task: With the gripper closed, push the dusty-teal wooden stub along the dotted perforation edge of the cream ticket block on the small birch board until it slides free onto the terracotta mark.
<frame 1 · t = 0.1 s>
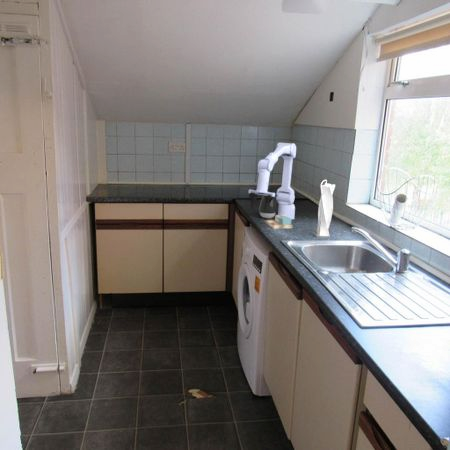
hand: (259, 208, 228), 10 cm above the worktop, fingers open, 7 cm apart
dark egg-shaped dome: (267, 217, 257), on the worktop
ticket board: (278, 225, 238), on the worktop
stub: (285, 220, 236), point 3 cm above the worktop, slide at 0.0 cm
skyscraper: (322, 235, 221), on the worktop
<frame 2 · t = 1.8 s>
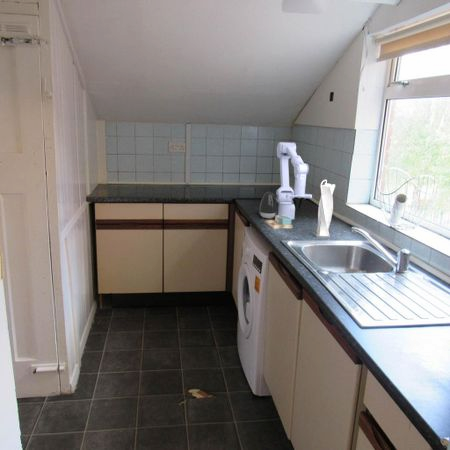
hand: (297, 211, 236), 8 cm above the worktop, fingers closed
nothing on the worktop moved.
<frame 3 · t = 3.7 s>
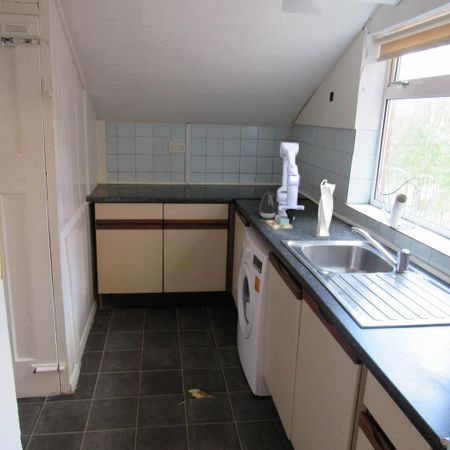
hand: (289, 222, 236), 2 cm above the worktop, fingers closed
stub: (282, 220, 236), point 3 cm above the worktop, slide at 1.4 cm, touching gripper
everything else where it was.
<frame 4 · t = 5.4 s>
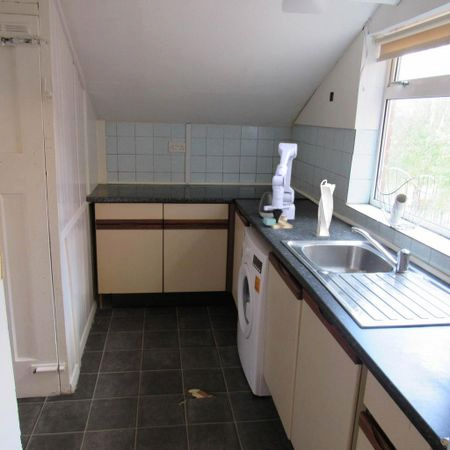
hand: (276, 223, 234), 2 cm above the worktop, fingers closed
dark egg-shaped dome: (267, 217, 257), on the worktop, touching arm
stub: (269, 221, 234), point 3 cm above the worktop, slide at 9.2 cm, touching gripper
everything else where it was.
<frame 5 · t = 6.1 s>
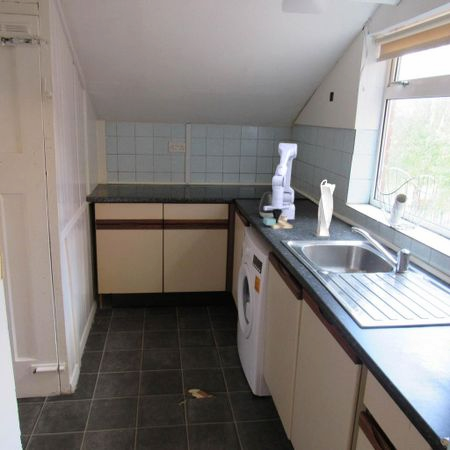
hand: (275, 223, 234), 2 cm above the worktop, fingers closed
nothing on the worktop moved.
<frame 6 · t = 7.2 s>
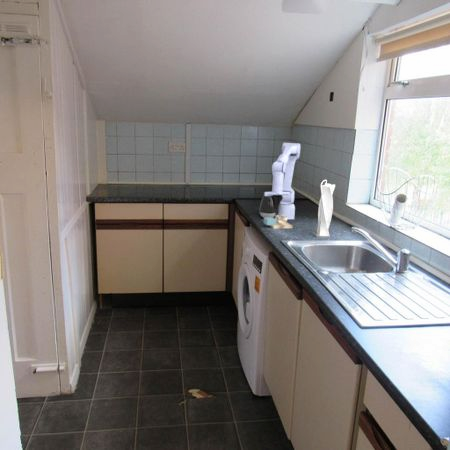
hand: (276, 208, 238), 9 cm above the worktop, fingers closed
dark egg-shaped dome: (267, 217, 257), on the worktop
stub: (269, 221, 234), point 3 cm above the worktop, slide at 9.1 cm
everything else where it was.
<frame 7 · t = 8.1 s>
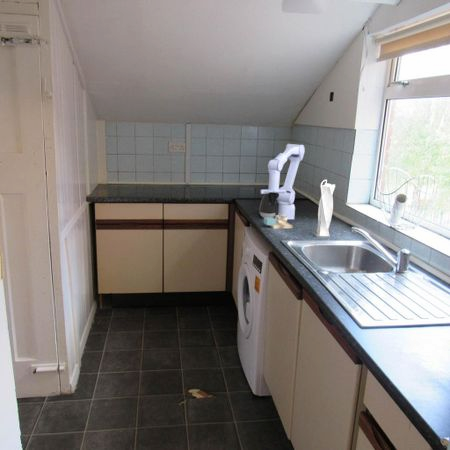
hand: (272, 206, 241), 9 cm above the worktop, fingers closed
nothing on the worktop moved.
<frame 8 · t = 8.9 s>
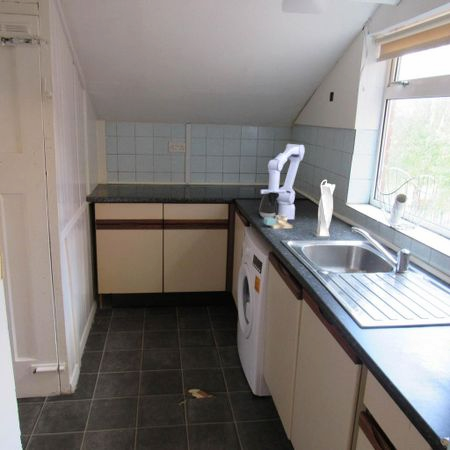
hand: (272, 206, 241), 9 cm above the worktop, fingers closed
nothing on the worktop moved.
at the end: stub slide at 9.1 cm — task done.
